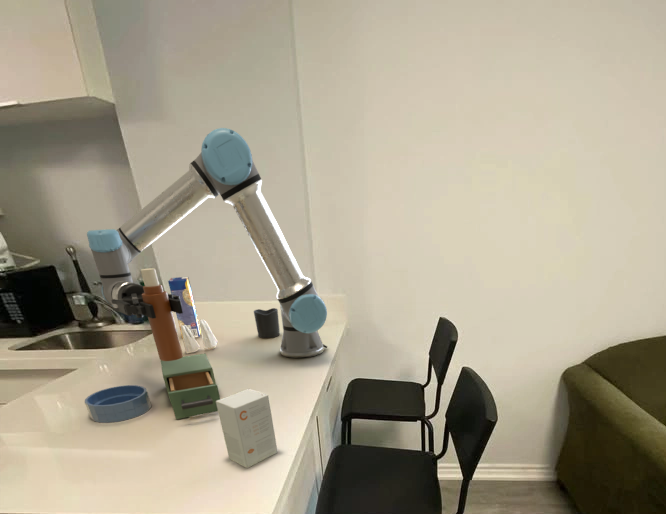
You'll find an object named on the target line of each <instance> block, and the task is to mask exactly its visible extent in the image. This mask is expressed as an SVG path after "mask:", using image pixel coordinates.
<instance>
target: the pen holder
mask: <svg viewBox="0 0 666 514" xmlns="http://www.w3.org/2000/svg"><path fill="white" fill-rule="evenodd" d="M278 310H279V309H278V308H274V307H273V308H269V309H266V310H264V309H261V308H260V309H254V310H253V315H254V321H255V325H256V331H257V335H258V337H259V338H261V339H273V338H277V337H279V336H280V334H281V333H280V331H281V330H280V321H279V311H278Z"/></svg>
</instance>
